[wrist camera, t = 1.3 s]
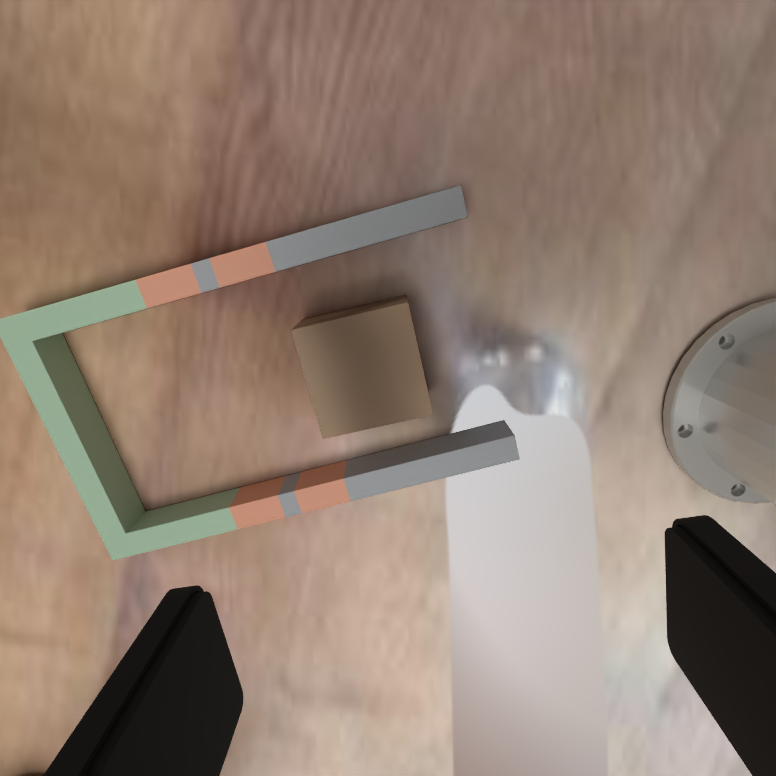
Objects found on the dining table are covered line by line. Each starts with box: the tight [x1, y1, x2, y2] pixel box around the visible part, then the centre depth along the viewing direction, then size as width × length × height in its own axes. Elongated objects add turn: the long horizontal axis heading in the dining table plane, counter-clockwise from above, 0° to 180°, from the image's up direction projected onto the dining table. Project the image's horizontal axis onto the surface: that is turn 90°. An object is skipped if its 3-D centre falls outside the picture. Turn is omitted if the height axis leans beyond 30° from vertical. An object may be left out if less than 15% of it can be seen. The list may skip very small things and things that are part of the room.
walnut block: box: [291, 295, 433, 439], centre depth 27 cm, size 6×6×4 cm
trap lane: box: [0, 185, 519, 560], centre depth 28 cm, size 25×15×2 cm, turn 105°
